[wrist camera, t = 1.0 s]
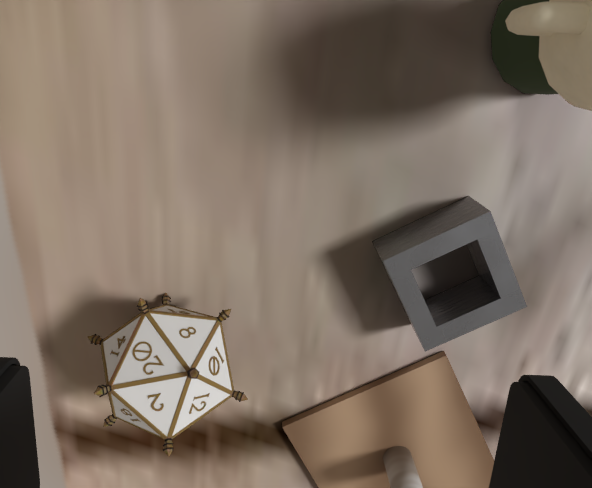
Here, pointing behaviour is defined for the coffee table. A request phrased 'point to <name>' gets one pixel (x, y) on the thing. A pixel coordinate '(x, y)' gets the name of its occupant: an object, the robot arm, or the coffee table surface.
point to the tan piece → (395, 434)
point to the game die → (166, 369)
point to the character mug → (545, 47)
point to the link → (460, 299)
